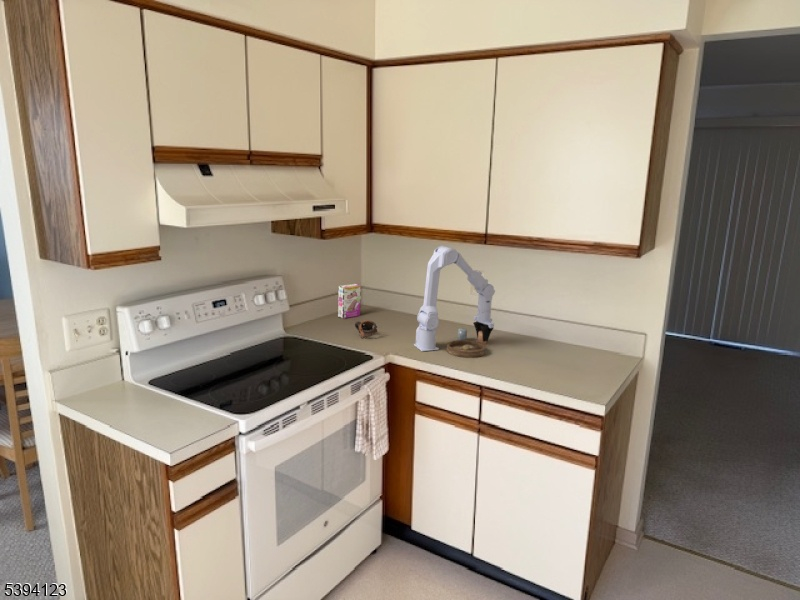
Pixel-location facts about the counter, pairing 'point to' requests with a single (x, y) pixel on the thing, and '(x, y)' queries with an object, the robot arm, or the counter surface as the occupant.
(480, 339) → the peach rounded cylinder
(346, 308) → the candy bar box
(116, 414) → the counter surface
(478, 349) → the walnut groove tray
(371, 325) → the pottery mug
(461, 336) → the slate bead
